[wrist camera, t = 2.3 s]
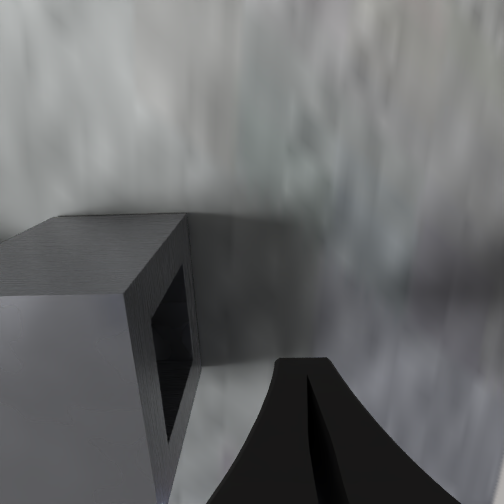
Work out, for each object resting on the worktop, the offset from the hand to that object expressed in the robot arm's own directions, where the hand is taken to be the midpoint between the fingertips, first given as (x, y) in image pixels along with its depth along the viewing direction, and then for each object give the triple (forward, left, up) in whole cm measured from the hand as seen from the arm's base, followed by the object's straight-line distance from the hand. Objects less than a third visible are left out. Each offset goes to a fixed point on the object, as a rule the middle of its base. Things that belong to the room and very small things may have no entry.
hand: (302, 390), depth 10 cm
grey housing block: (+4, +4, -6) cm, 8 cm away
